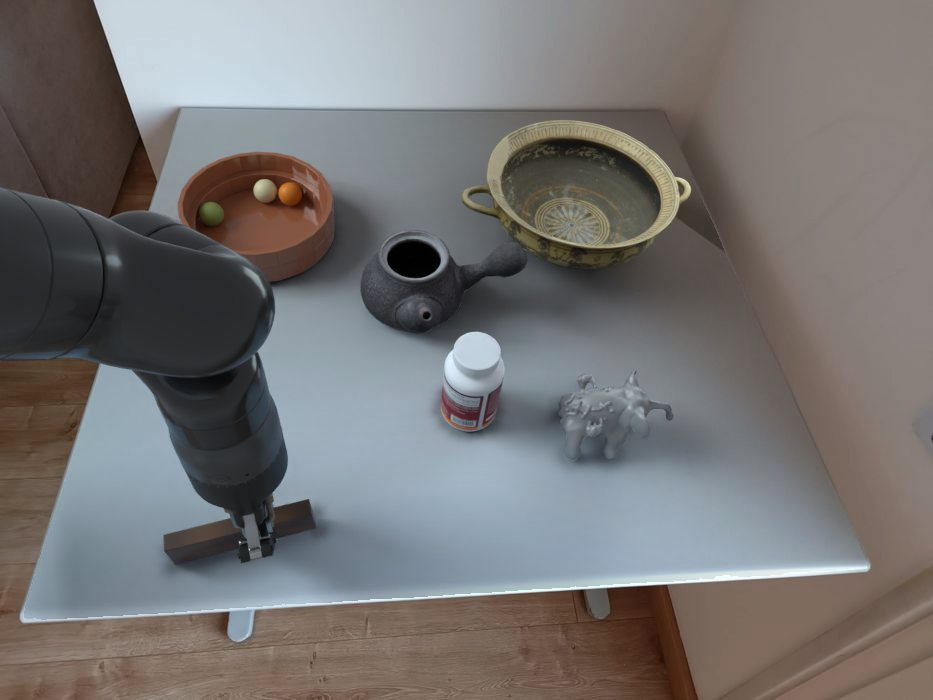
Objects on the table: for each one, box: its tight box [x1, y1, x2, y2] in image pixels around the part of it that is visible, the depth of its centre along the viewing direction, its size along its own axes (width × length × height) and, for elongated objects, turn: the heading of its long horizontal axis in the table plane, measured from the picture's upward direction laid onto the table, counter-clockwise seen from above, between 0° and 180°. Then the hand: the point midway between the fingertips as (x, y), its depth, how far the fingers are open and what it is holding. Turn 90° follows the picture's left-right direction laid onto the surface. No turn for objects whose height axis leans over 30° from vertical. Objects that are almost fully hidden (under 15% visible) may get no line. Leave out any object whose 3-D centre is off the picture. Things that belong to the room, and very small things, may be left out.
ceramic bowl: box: [461, 119, 692, 270], centre depth 92 cm, size 30×24×10 cm
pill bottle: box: [440, 331, 506, 433], centre depth 74 cm, size 6×6×11 cm
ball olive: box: [199, 202, 224, 226], centre depth 89 cm, size 3×3×3 cm
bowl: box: [177, 151, 336, 283], centre depth 89 cm, size 18×18×6 cm
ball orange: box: [278, 182, 302, 206], centre depth 93 cm, size 3×3×3 cm
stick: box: [162, 498, 317, 566], centre depth 66 cm, size 13×2×4 cm, turn 107°
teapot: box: [360, 229, 528, 334], centre depth 83 cm, size 19×15×10 cm
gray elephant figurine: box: [557, 369, 674, 461], centre depth 75 cm, size 9×12×8 cm
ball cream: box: [253, 179, 277, 203], centre depth 93 cm, size 3×3×3 cm
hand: (262, 528), depth 67 cm, fingers closed
